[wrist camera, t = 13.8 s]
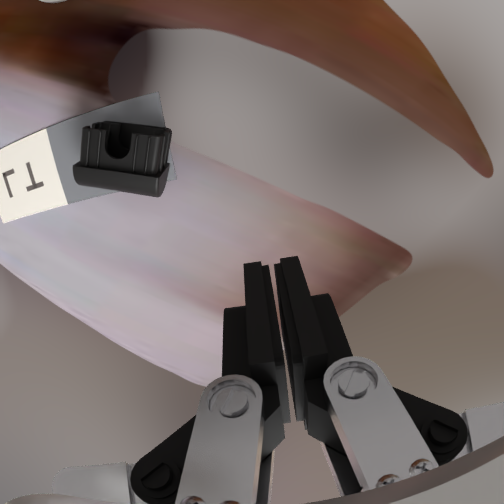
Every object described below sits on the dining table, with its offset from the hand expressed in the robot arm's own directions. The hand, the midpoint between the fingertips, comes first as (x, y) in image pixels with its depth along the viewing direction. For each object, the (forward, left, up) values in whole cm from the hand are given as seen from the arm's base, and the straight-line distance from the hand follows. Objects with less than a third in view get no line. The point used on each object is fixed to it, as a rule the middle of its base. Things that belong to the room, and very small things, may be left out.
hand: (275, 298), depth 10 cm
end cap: (-1, -14, -29) cm, 32 cm away
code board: (-2, -32, -29) cm, 43 cm away
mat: (-2, -17, -29) cm, 34 cm away
